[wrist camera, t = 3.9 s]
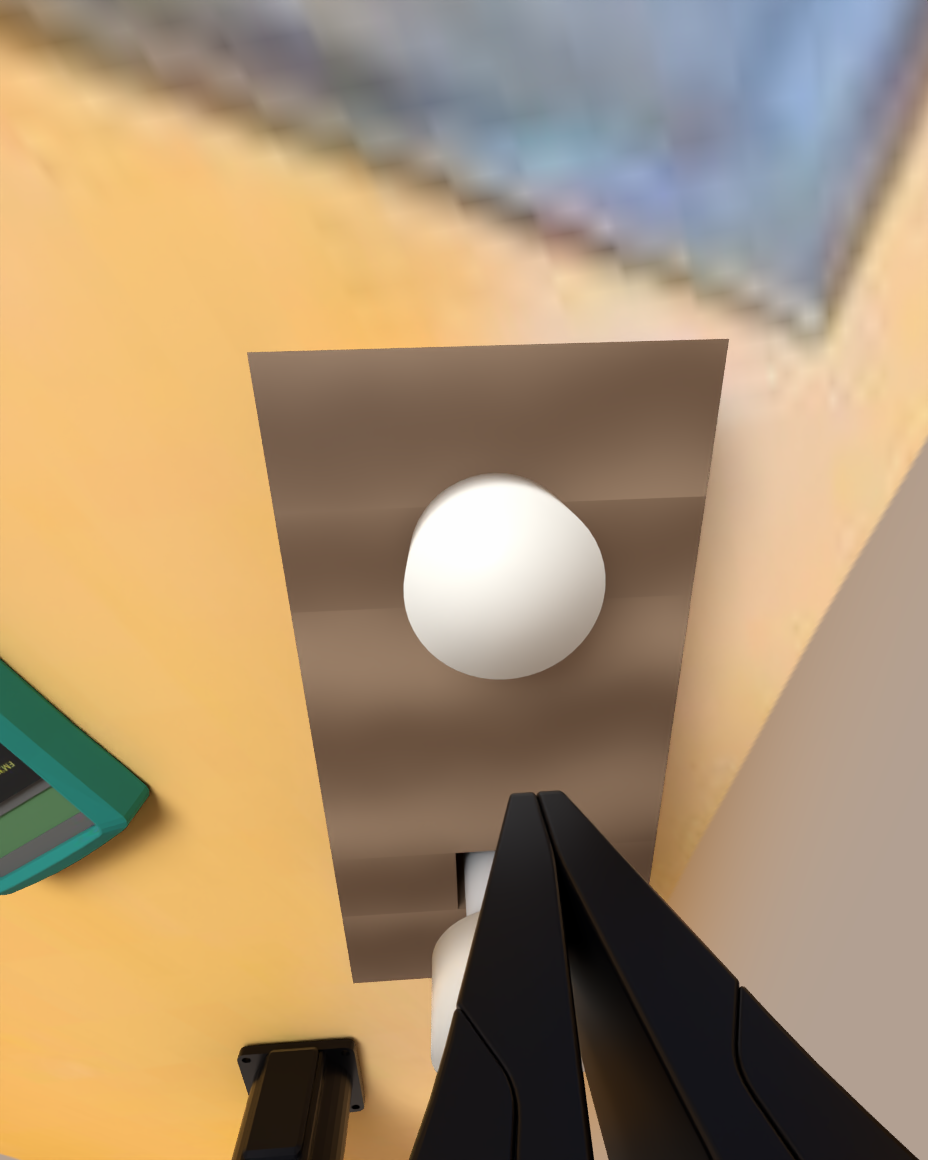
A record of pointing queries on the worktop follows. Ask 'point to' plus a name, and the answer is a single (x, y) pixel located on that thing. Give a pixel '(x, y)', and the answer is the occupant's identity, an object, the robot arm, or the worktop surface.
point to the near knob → (502, 578)
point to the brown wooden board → (415, 676)
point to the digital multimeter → (54, 788)
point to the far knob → (456, 952)
